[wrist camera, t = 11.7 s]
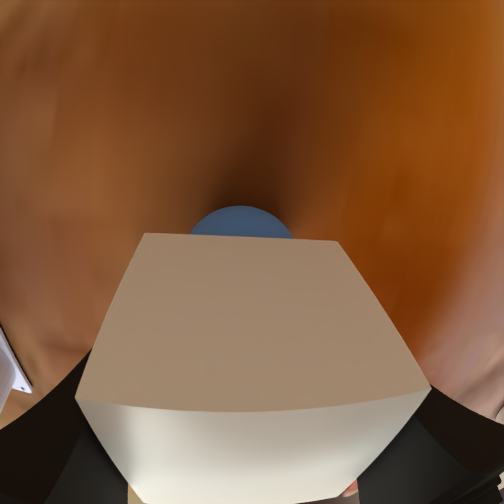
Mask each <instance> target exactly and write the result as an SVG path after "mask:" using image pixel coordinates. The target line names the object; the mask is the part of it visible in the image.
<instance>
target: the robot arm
mask: <svg viewBox="0 0 504 504" xmlns="http://www.w3.org/2000/svg"><path fill="white" fill-rule="evenodd" d="M92 348H93V347H92ZM91 351H92V349H91V350H90V351H89V352H88V353H87V354H86V356H85V357H84V358H83V359H82V360H81V361H80V362H79V363H78V364H77V365H76V367H75V368H74V369H73V370H72V371H71V372H70V373H69V374H68V375H67V376H66V377H65V378H64V379H63V380H62V381H61V382H60V383H59V384H58V385H57V386H56V387H55V388H54V389H53V390H52V391H51V392H50V393H48V394H47V395H46V396H45V397H44V398H43V399H42V400H40V401H39V402H38V403H37V404H36V405H34V406H33V407H32V408H31V409H29V410H28V411H27V412H25V413H24V414H23V415H21V416H20V417H19V418H17V419H16V420H14V421H13V422H11V423H10V424H8V425H7V426H5V427H4V428H2V429H1V430H0V504H128V503H127V502H128V495H127V494H128V482H127V481H126V479H125V478H124V477H123V475H122V474H121V472H120V471H119V470H118V468H117V467H116V465H115V464H114V462H113V461H112V459H111V458H110V456H109V455H108V453H107V452H106V450H105V449H104V447H103V446H102V444H101V442H100V441H99V439H98V438H97V436H96V434H95V433H94V431H93V429H92V428H91V426H90V424H89V422H88V421H87V419H86V417H85V415H84V414H83V412H82V410H81V408H80V406H79V404H78V403H77V401H76V399H75V395H76V392H77V389H78V386H79V383H80V381H81V378H82V375H83V372H84V369H85V367H86V364H87V361H88V359H89V356H90V354H91ZM430 386H431V388H432V389H431V390H430V392H429V393H428V395H427V396H426V397H425V399H424V400H423V401H422V403H421V404H420V406H419V407H418V408H417V410H416V411H415V412H414V414H413V415H412V416H411V417H410V419H409V420H408V421H407V423H406V424H405V425H404V426H403V428H402V429H401V430H400V431H399V432H398V434H397V435H396V436H395V437H394V438H393V440H392V441H391V442H390V443H389V444H388V445H387V446H386V448H385V449H384V450H383V451H382V452H381V453H380V454H379V455H378V457H377V458H376V459H375V460H374V461H373V462H372V463H371V464H370V465H369V466H368V467H367V468H366V469H365V470H364V471H363V472H362V473H361V474H360V475H359V476H358V477H357V483H358V491H359V501H360V504H504V488H502V489H501V490H499V489H498V487H497V485H499V484H500V483H501V478H500V476H499V475H500V474H501V473H502V472H504V424H501V423H498V422H495V421H493V420H491V419H488V418H486V417H484V416H482V415H480V414H478V413H476V412H474V411H472V410H470V409H468V408H466V407H464V406H463V405H461V404H459V403H458V402H456V401H454V400H452V399H451V398H449V397H448V396H446V395H445V394H443V393H442V392H440V391H439V390H438V389H436V388H435V387H433V386H432V385H431V384H430ZM12 388H14V389H17V390H20V391H24V392H28V393H32V391H33V388H32V386H31V385H30V383H29V381H28V379H27V378H26V376H25V374H24V373H23V371H22V369H21V367H20V365H19V363H18V362H17V360H16V358H15V356H14V354H13V352H12V350H11V348H10V346H9V344H8V342H7V340H6V338H5V336H4V334H3V332H2V330H1V328H0V414H1V411H2V409H3V407H4V404H5V402H6V400H7V397H8V395H9V393H10V391H11V389H12Z"/></svg>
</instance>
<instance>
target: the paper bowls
mask: <svg viewBox="0 0 504 504" xmlns="http://www.w3.org/2000/svg"><path fill="white" fill-rule="evenodd" d="M496 422H498V423H501V424H504V406H503V407H502V408H501V410H500V411H499V413H498V415H497V417H496Z"/></svg>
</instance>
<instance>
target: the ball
mask: <svg viewBox="0 0 504 504" xmlns="http://www.w3.org/2000/svg"><path fill="white" fill-rule="evenodd" d="M190 235H216V236H240V237H263V238H285V239H294V238H293V236H292V235H291V233H290V231H289V230H288V229H287V227H286V226H285V225H284V224H283V223H282V222H281V221H280V220H278V219H277V218H276V217H275V216H273V215H272V214H270V213H268V212H266V211H264V210H262V209H259V208H255V207H251V206H230V207H225V208H222V209H218V210H216V211H214V212H212V213H210V214H209V215H207V216H206V217H204V218H203V219H202V220H201V221H199V222H198V223H197V224H196V226H195V227H194V228H193V229H192V231H191V232H190Z"/></svg>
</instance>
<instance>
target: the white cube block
mask: <svg viewBox="0 0 504 504" xmlns="http://www.w3.org/2000/svg"><path fill="white" fill-rule="evenodd" d="M431 389H432V388H431V386H430V384H429V383H428V381H427V379H426V377H425V376H424V374H423V372H422V371H421V369H420V367H419V365H418V364H417V362H416V360H415V359H414V357H413V355H412V354H411V352H410V350H409V349H408V347H407V345H406V344H405V342H404V341H403V339H402V337H401V336H400V334H399V333H398V331H397V329H396V328H395V326H394V325H393V323H392V321H391V320H390V318H389V317H388V315H387V314H386V312H385V311H384V309H383V307H382V306H381V304H380V303H379V301H378V300H377V298H376V297H375V295H374V294H373V292H372V291H371V289H370V288H369V286H368V285H367V283H366V282H365V280H364V279H363V278H362V276H361V275H360V273H359V272H358V270H357V269H356V267H355V266H354V264H353V263H352V262H351V260H350V259H349V257H348V256H347V254H346V253H345V252H344V250H343V249H342V247H341V246H340V245H339V243H338V242H337V241H324V240H305V239H285V238H263V237H240V236H216V235H190V234H162V233H144V235H143V237H142V239H141V241H140V243H139V245H138V247H137V249H136V251H135V253H134V255H133V257H132V259H131V261H130V264H129V266H128V268H127V270H126V272H125V274H124V276H123V278H122V280H121V283H120V285H119V287H118V289H117V291H116V294H115V296H114V298H113V300H112V303H111V305H110V307H109V309H108V312H107V314H106V316H105V319H104V321H103V324H102V326H101V328H100V331H99V333H98V336H97V338H96V341H95V343H94V346H93V348H92V351H91V354H90V356H89V359H88V361H87V364H86V367H85V369H84V372H83V375H82V378H81V381H80V383H79V386H78V389H77V392H76V395H75V399H76V401H77V403H78V404H79V406H80V408H81V410H82V412H83V414H84V415H85V417H86V419H87V421H88V422H89V424H90V426H91V428H92V429H93V431H94V433H95V434H96V436H97V438H98V439H99V441H100V442H101V444H102V446H103V447H104V449H105V450H106V452H107V453H108V455H109V456H110V458H111V459H112V461H113V462H114V464H115V465H116V467H117V468H118V470H119V471H120V472H121V474H122V475H123V477H124V478H125V479H126V481H127V482H128V483H129V485H130V486H131V487H132V489H133V490H134V491H135V492H136V494H137V495H138V496H139V498H140V499H141V500H142V501H143V503H149V504H295V503H302V502H309V501H316V500H322V499H327V498H333V497H337V496H338V495H340V494H341V493H342V492H343V491H344V490H345V489H346V488H347V487H348V486H349V485H350V484H351V483H352V482H353V481H354V480H355V479H356V478H357V477H358V476H359V475H360V474H361V473H362V472H363V471H364V470H365V469H366V468H367V467H368V466H369V465H370V464H371V463H372V462H373V461H374V460H375V459H376V458H377V457H378V455H379V454H380V453H381V452H382V451H383V450H384V449H385V448H386V446H387V445H388V444H389V443H390V442H391V441H392V440H393V438H394V437H395V436H396V435H397V434H398V432H399V431H400V430H401V429H402V428H403V426H404V425H405V424H406V423H407V421H408V420H409V419H410V417H411V416H412V415H413V414H414V412H415V411H416V410H417V408H418V407H419V406H420V404H421V403H422V401H423V400H424V399H425V397H426V396H427V395H428V393H429V392H430V390H431Z"/></svg>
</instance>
